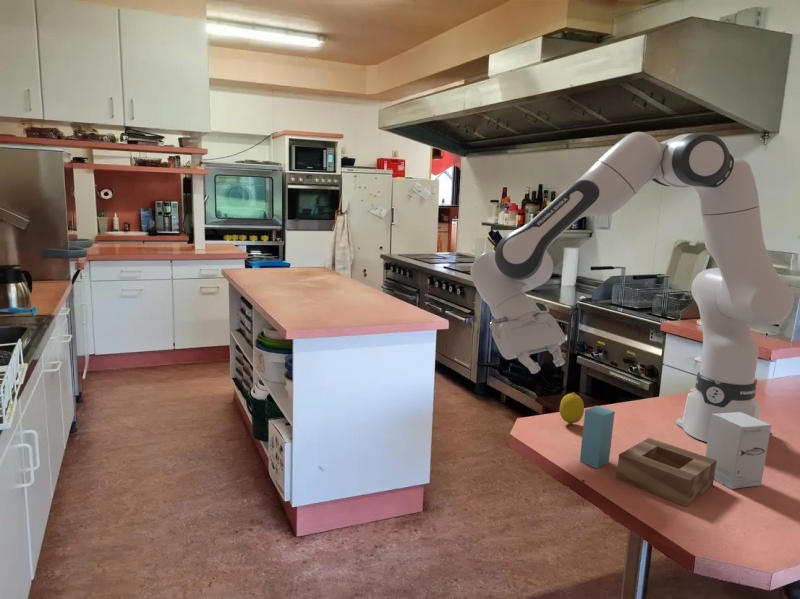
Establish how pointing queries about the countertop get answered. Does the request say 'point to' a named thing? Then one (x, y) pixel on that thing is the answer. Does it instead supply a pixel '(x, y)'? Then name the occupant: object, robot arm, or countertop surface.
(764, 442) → the supplement box
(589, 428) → the blue square pillar
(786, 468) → the countertop surface
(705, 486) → the well block
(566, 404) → the lemon
